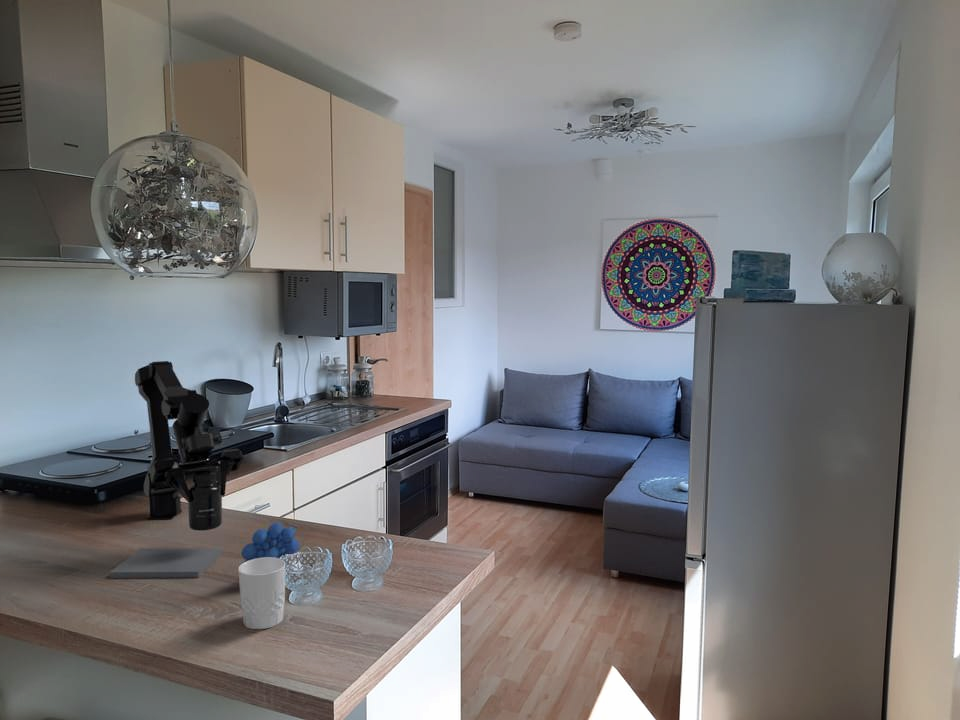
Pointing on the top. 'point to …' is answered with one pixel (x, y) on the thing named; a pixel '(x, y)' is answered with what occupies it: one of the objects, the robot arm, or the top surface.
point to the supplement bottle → (205, 501)
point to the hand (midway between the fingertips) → (207, 498)
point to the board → (167, 563)
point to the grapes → (271, 543)
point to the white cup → (262, 592)
